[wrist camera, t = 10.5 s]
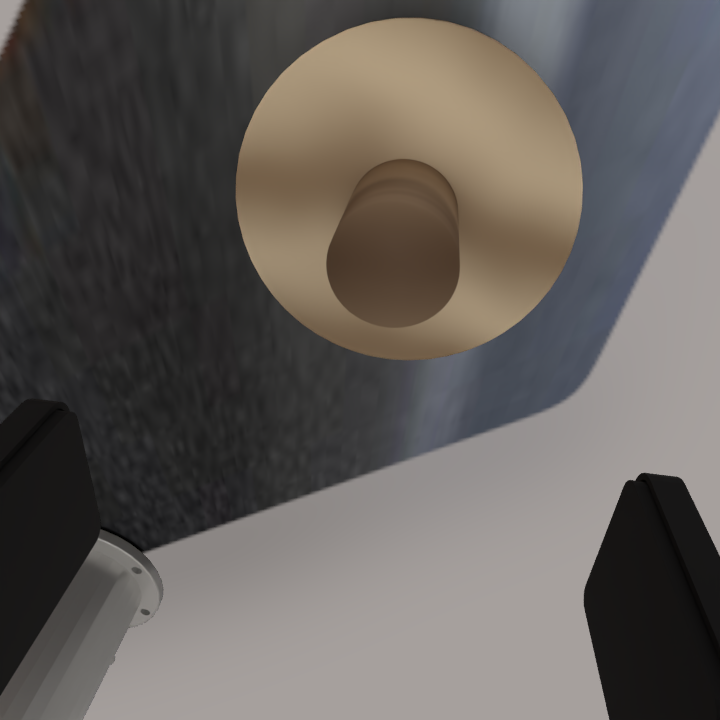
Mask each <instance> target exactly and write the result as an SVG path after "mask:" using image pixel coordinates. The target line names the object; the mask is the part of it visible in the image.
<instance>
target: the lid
mask: <svg viewBox="0 0 720 720" xmlns="http://www.w3.org/2000/svg"><path fill="white" fill-rule="evenodd" d="M582 193H583V182H582V171H581V161H580V157H579V153H578V149H577V145H576V141H575V137H574V135H573V132H572V130H571V127H570V125H569V122H568V120H567V117H566V115H565V113H564V111H563V110H562V108H561V106H560V105H559V103H558V101H557V100H556V98H555V96H554V94H553V93H552V92H551V90H550V89H549V88H548V87H547V85H546V84H545V83H544V82H543V80H542V79H541V78H540V77H539V76H538V74H537V73H536V72H535V71H534V70H533V69H532V68H531V67H530V66H529V65H528V64H527V63H526V62H524V61H523V60H522V59H521V58H520V57H519V56H518V55H517V54H516V53H514V52H513V51H511V50H510V49H508V48H507V47H505V46H504V45H502V44H501V43H500V42H498V41H497V40H495V39H493V38H491V37H489V36H487V35H485V34H482V33H480V32H478V31H476V30H474V29H472V28H469V27H465V26H462V25H459V24H455V23H452V22H449V21H443V20H436V19H429V18H392V19H385V20H379V21H372V22H369V23H366V24H363V25H359V26H356V27H353V28H350V29H347V30H345V31H343V32H341V33H339V34H337V35H335V36H333V37H331V38H328V39H326V40H324V41H323V42H321V43H319V44H318V45H316V46H315V47H313V48H312V49H310V50H309V51H308V52H306V53H305V54H303V55H302V56H300V57H299V58H298V59H297V60H296V61H295V62H294V63H293V64H292V65H290V66H289V67H288V68H287V69H286V70H285V71H284V72H283V73H282V74H281V75H280V76H279V78H278V79H277V80H276V81H275V82H274V84H273V85H272V86H271V87H270V88H269V90H268V91H267V92H266V94H265V96H264V97H263V99H262V101H261V102H260V104H259V105H258V107H257V109H256V110H255V112H254V114H253V117H252V119H251V121H250V124H249V126H248V128H247V130H246V133H245V136H244V140H243V143H242V147H241V150H240V154H239V160H238V167H237V174H236V204H237V212H238V220H239V224H240V228H241V232H242V236H243V240H244V243H245V245H246V248H247V251H248V253H249V256H250V258H251V261H252V263H253V264H254V266H255V268H256V270H257V272H258V274H259V276H260V278H261V279H262V280H263V282H264V283H265V285H266V286H267V288H268V289H269V290H270V292H271V293H272V295H273V296H274V297H275V298H276V299H277V300H278V301H279V302H280V304H281V305H282V306H283V307H284V308H285V309H286V310H287V311H288V312H289V313H290V314H291V315H293V316H294V317H295V318H296V319H297V320H298V321H299V322H300V323H302V324H303V325H305V326H306V327H308V328H309V329H310V330H312V331H313V332H315V333H316V334H318V335H320V336H321V337H323V338H325V339H327V340H329V341H331V342H332V343H334V344H337V345H339V346H342V347H344V348H347V349H349V350H352V351H355V352H359V353H362V354H366V355H369V356H374V357H380V358H386V359H397V360H422V359H432V358H438V357H444V356H449V355H453V354H456V353H460V352H463V351H467V350H469V349H472V348H474V347H477V346H479V345H481V344H484V343H486V342H488V341H490V340H492V339H493V338H495V337H497V336H499V335H501V334H502V333H504V332H505V331H507V330H508V329H510V328H511V327H512V326H514V325H515V324H516V323H518V322H519V321H521V320H522V319H523V318H524V317H525V316H526V315H527V314H528V313H529V312H530V311H531V310H532V309H533V308H535V307H536V305H537V304H538V303H539V302H540V301H541V300H542V298H543V297H544V296H545V295H546V294H547V292H548V291H549V290H550V289H551V287H552V285H553V284H554V282H555V281H556V279H557V278H558V276H559V275H560V273H561V271H562V269H563V267H564V265H565V263H566V261H567V259H568V257H569V255H570V253H571V250H572V247H573V244H574V241H575V238H576V235H577V231H578V226H579V221H580V216H581V210H582Z"/></svg>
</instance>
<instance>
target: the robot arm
mask: <svg viewBox="0 0 720 720" xmlns="http://www.w3.org/2000/svg"><path fill="white" fill-rule="evenodd" d="M162 597H163V585H162V580H161V578H160V576H159V574H158V571H157V570H156V569H155V567H154V566H153V565H152V563H151V562H150V560H149V559H148V558H147V557H146V556H145V555H144V554H143V553H142V552H141V551H139V550H138V549H137V548H135V547H134V546H133V545H131V544H130V543H128V542H127V541H125V540H123V539H122V538H120V537H118V536H116V535H114V534H111V533H109V532H107V531H104V530H101V520H100V515H99V511H98V506H97V502H96V498H95V493H94V489H93V484H92V480H91V475H90V471H89V467H88V462H87V458H86V453H85V449H84V445H83V440H82V436H81V431H80V427H79V423H78V419H77V416H76V414H75V413H73V412H70V411H69V409H68V407H67V405H66V404H65V403H62V402H56V401H48V400H39V399H27V400H26V401H24V402H23V403H22V404H21V405H20V406H19V407H18V408H17V409H16V410H15V411H13V412H12V413H11V414H10V415H9V416H8V417H7V418H6V419H5V420H4V421H3V422H2V423H1V424H0V720H83V718H84V716H85V714H86V712H87V710H88V708H89V706H90V704H91V702H92V700H93V698H94V696H95V694H96V692H97V690H98V688H99V686H100V684H101V682H102V680H103V678H104V676H105V674H106V672H107V670H108V668H109V666H110V665H111V664H112V663H113V662H114V661H115V654H116V652H117V650H118V648H119V646H120V644H121V641H122V640H123V637H124V635H125V633H126V631H127V629H128V628H130V627H135V626H138V625H140V624H143V623H145V622H147V621H148V620H149V619H150V618H152V617H153V615H154V614H155V613H156V611H157V610H158V607H159V605H160V602H161V600H162ZM584 608H585V613H586V618H587V622H588V626H589V631H590V635H591V639H592V644H593V648H594V653H595V658H596V662H597V667H598V671H599V675H600V680H601V684H602V689H603V693H604V698H605V702H606V707H607V711H608V715H609V720H720V556H719V554H718V552H717V550H716V547H715V545H714V543H713V541H712V539H711V537H710V535H709V533H708V531H707V529H706V527H705V525H704V523H703V521H702V518H701V516H700V514H699V512H698V510H697V508H696V506H695V504H694V502H693V500H692V498H691V496H690V494H689V492H688V489H687V488H686V485H685V483H684V482H683V480H682V479H680V478H679V477H673V476H666V475H657V474H649V473H641V474H640V475H639V476H638V477H637V479H636V481H633V480H629V481H627V482H626V483H625V485H624V487H623V490H622V492H621V495H620V498H619V500H618V503H617V505H616V508H615V511H614V513H613V516H612V518H611V521H610V524H609V526H608V529H607V531H606V534H605V537H604V539H603V542H602V545H601V548H600V550H599V552H598V555H597V557H596V560H595V563H594V565H593V568H592V570H591V573H590V576H589V578H588V581H587V584H586V586H585V590H584Z"/></svg>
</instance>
